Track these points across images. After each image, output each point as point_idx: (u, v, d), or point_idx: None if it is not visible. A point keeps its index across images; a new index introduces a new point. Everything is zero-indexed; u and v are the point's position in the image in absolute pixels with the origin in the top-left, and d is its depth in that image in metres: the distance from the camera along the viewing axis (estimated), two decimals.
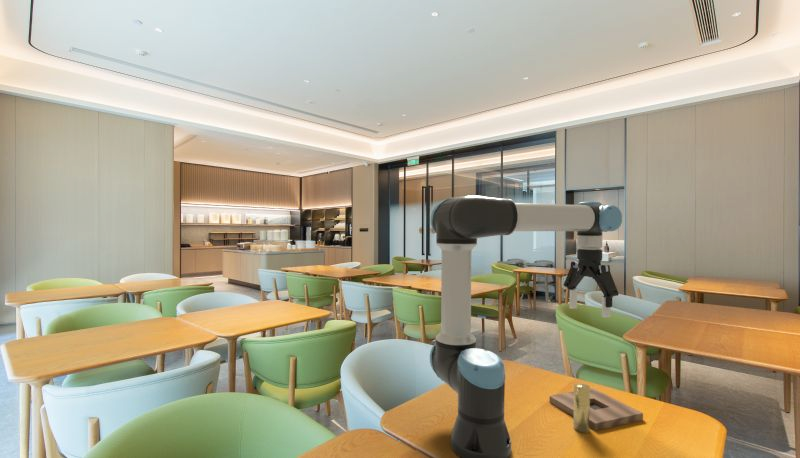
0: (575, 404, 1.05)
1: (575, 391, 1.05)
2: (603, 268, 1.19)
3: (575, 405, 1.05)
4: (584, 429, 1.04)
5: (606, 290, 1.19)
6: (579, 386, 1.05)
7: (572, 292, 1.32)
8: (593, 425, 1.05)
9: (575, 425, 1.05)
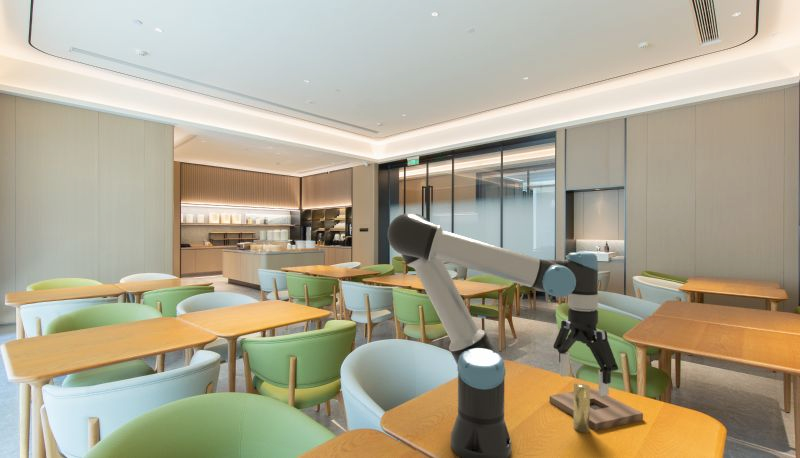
0: (575, 404, 1.05)
1: (575, 391, 1.05)
2: (599, 336, 0.99)
3: (575, 405, 1.05)
4: (584, 429, 1.04)
5: (603, 362, 0.99)
6: (579, 386, 1.05)
7: (563, 357, 1.11)
8: (593, 425, 1.05)
9: (575, 425, 1.05)
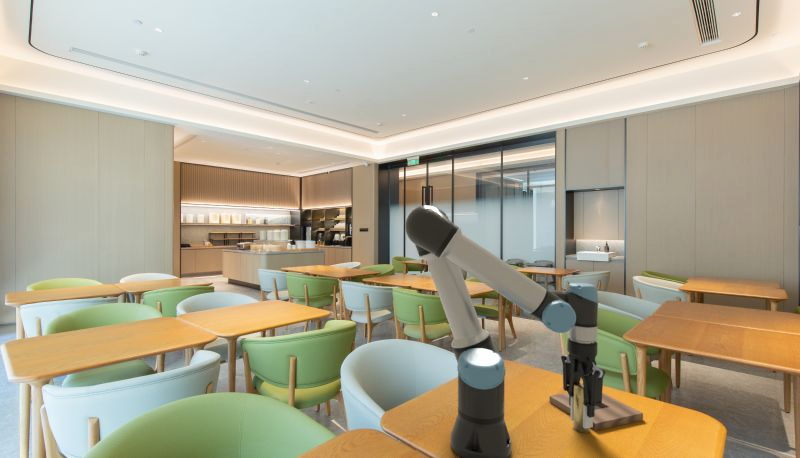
0: (575, 404, 1.05)
1: (575, 391, 1.05)
2: (596, 375, 1.00)
3: (575, 405, 1.05)
4: (584, 429, 1.04)
5: (590, 398, 1.02)
6: (578, 386, 1.05)
7: None
8: (593, 425, 1.05)
9: (575, 425, 1.05)
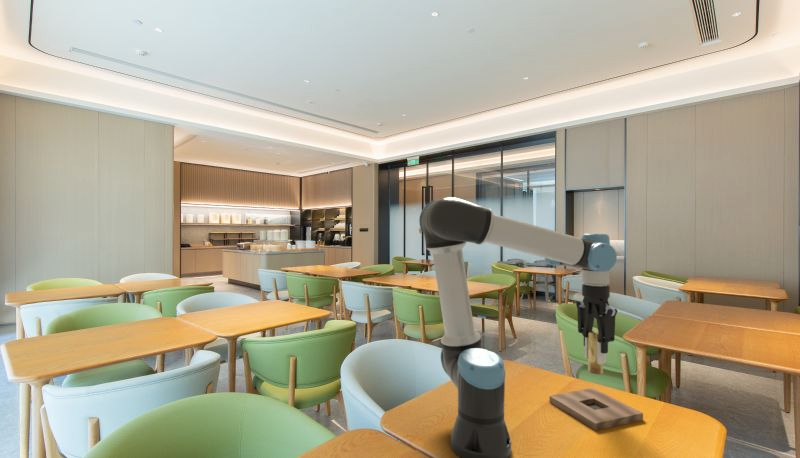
0: (589, 349, 1.16)
1: (589, 337, 1.16)
2: (609, 313, 1.10)
3: (589, 350, 1.16)
4: (598, 371, 1.14)
5: (603, 335, 1.13)
6: (593, 333, 1.15)
7: None
8: (593, 425, 1.05)
9: (590, 368, 1.16)
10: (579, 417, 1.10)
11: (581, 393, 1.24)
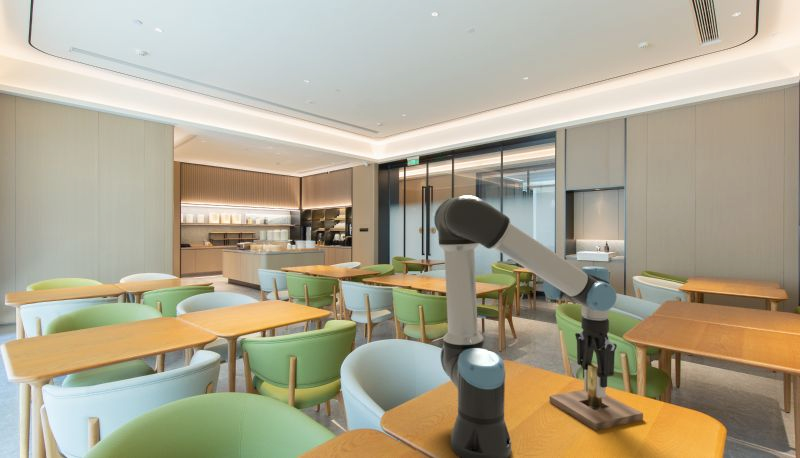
0: (589, 382, 1.16)
1: (589, 370, 1.16)
2: (609, 348, 1.10)
3: (589, 383, 1.16)
4: (597, 404, 1.15)
5: (603, 370, 1.13)
6: (592, 366, 1.16)
7: (587, 373, 1.18)
8: (593, 425, 1.05)
9: (589, 401, 1.16)
10: (579, 417, 1.10)
11: (581, 393, 1.24)
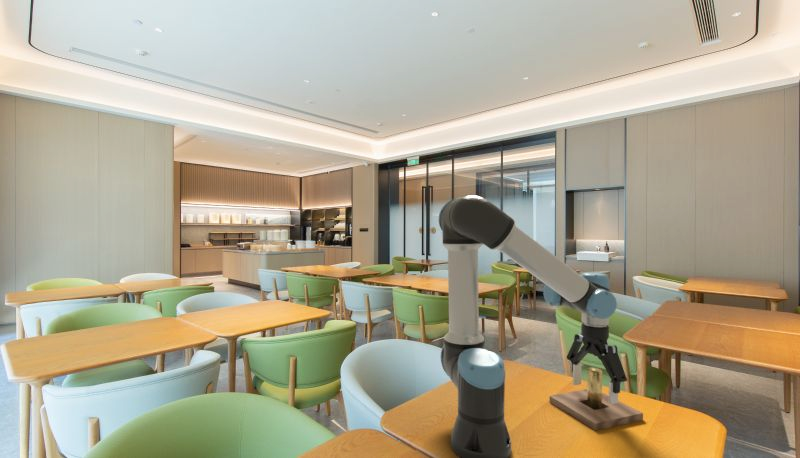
0: (589, 386, 1.16)
1: (589, 374, 1.16)
2: (610, 350, 1.10)
3: (589, 387, 1.16)
4: None
5: (613, 374, 1.09)
6: (592, 370, 1.16)
7: (576, 367, 1.22)
8: (593, 425, 1.05)
9: (589, 405, 1.16)
10: (579, 417, 1.10)
11: (581, 393, 1.24)
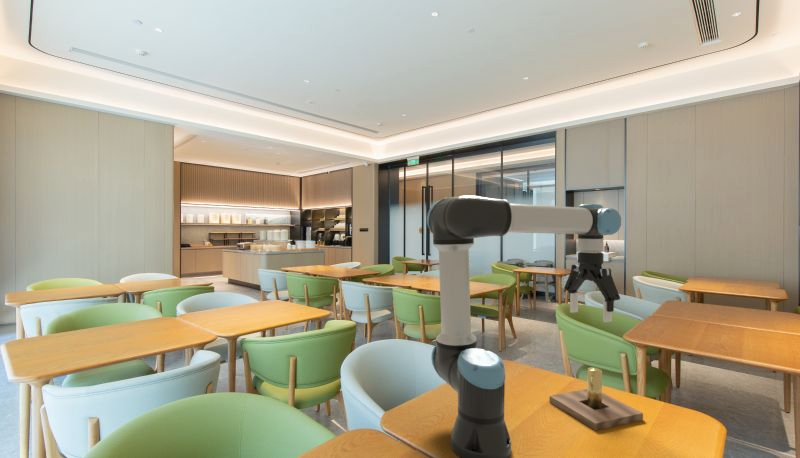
0: (589, 386, 1.16)
1: (589, 374, 1.16)
2: (604, 272, 1.17)
3: (589, 387, 1.16)
4: None
5: (607, 294, 1.17)
6: (592, 370, 1.16)
7: (573, 296, 1.30)
8: (593, 425, 1.05)
9: (589, 405, 1.16)
10: (579, 417, 1.10)
11: (581, 393, 1.24)
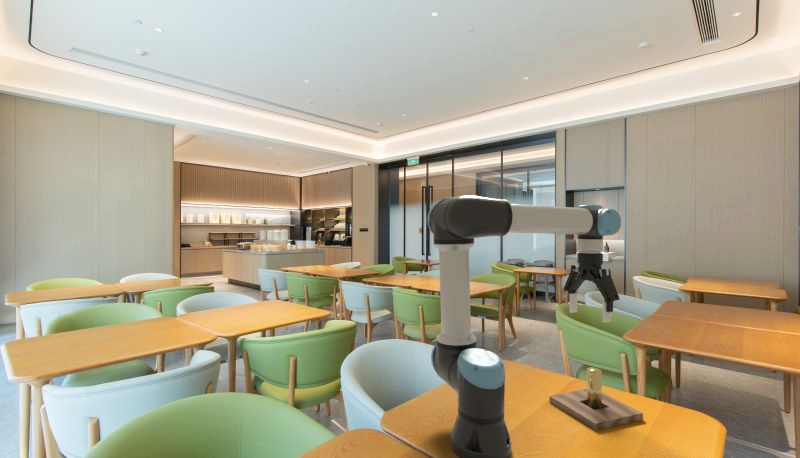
0: (588, 386, 1.16)
1: (588, 374, 1.16)
2: (604, 272, 1.18)
3: (588, 387, 1.16)
4: None
5: (607, 294, 1.17)
6: (591, 370, 1.16)
7: (572, 296, 1.30)
8: (593, 425, 1.05)
9: (589, 405, 1.16)
10: (579, 417, 1.10)
11: (581, 393, 1.24)
